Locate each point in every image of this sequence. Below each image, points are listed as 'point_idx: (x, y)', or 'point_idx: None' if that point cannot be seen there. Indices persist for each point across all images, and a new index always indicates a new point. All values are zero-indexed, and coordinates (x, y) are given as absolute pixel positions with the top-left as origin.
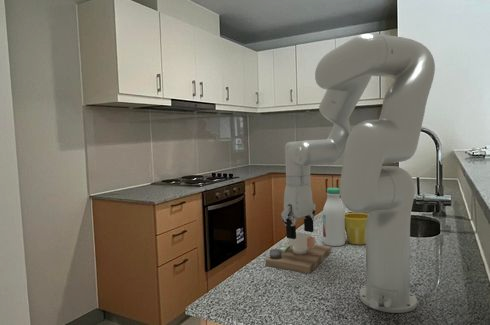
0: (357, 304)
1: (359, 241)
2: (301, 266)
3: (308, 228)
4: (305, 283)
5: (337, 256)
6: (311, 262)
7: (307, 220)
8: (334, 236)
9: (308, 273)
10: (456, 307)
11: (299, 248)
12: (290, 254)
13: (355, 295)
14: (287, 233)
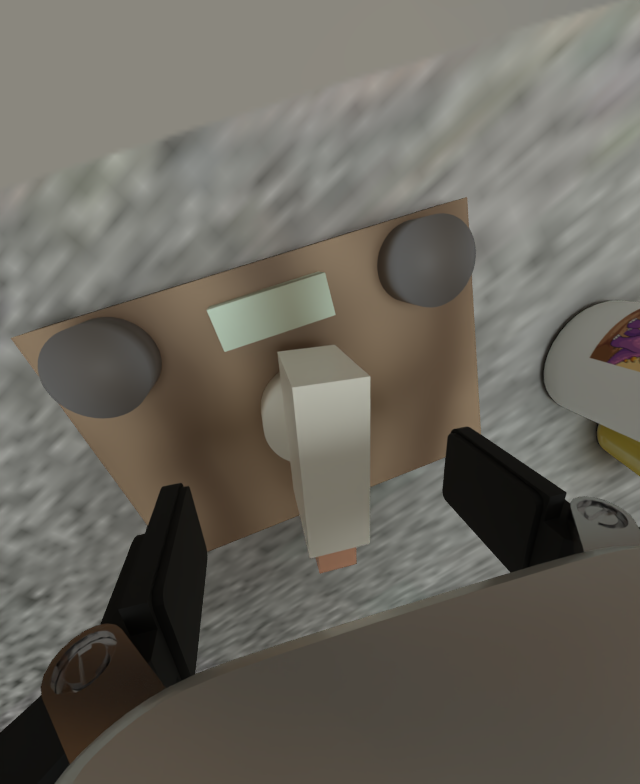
0: None
1: (611, 451)
2: None
3: (462, 484)
4: (91, 589)
5: (432, 472)
6: (231, 532)
7: (523, 535)
8: (593, 410)
9: None
10: None
11: (275, 452)
12: (238, 388)
13: None
14: (130, 554)
